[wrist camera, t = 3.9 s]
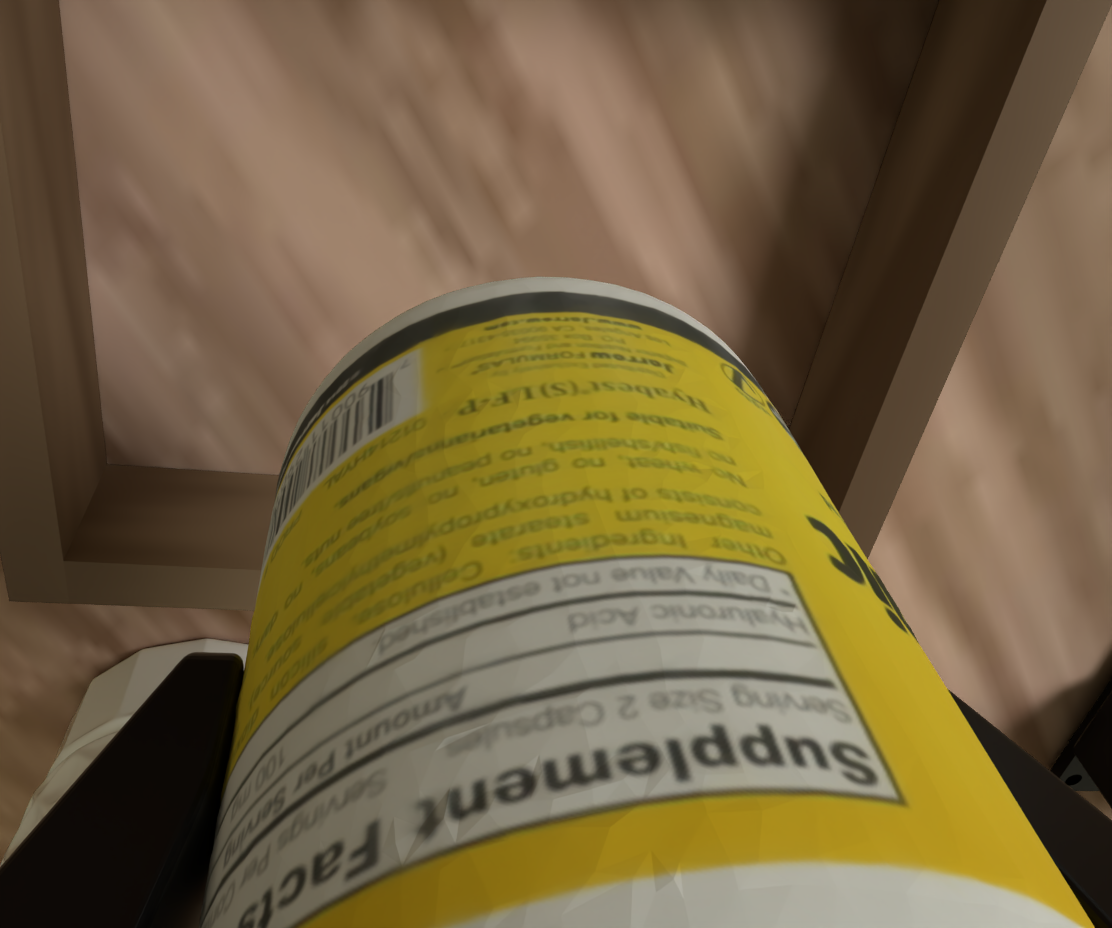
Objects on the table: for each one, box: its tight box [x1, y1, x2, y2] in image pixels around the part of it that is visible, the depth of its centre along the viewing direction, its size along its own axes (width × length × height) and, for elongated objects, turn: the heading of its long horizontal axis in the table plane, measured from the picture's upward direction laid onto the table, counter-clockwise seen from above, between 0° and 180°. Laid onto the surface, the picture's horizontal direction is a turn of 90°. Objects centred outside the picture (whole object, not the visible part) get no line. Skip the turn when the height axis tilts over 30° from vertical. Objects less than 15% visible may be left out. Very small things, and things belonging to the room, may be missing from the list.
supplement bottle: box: [198, 277, 1095, 928], centre depth 7 cm, size 5×5×10 cm
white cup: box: [0, 638, 249, 867], centre depth 20 cm, size 8×8×10 cm
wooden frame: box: [0, 0, 1112, 611], centre depth 16 cm, size 16×14×3 cm
